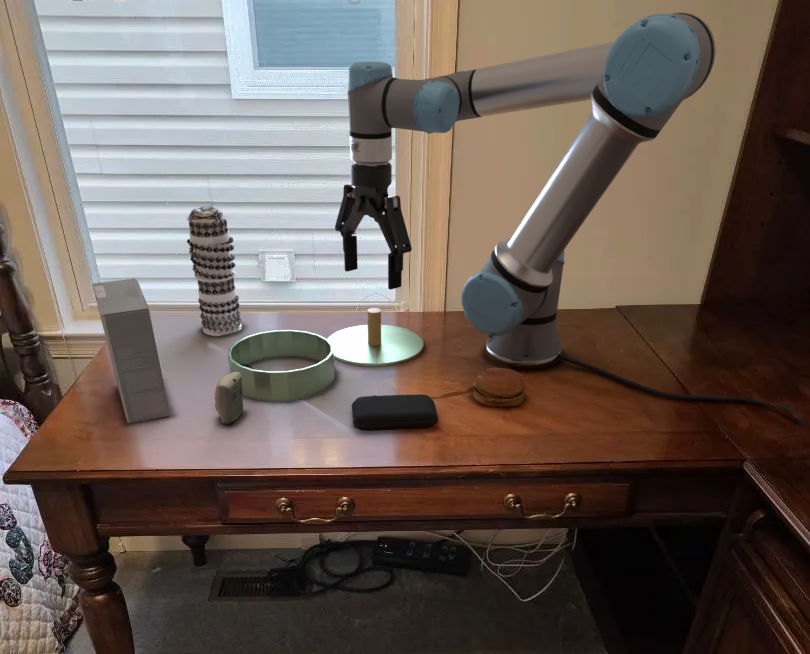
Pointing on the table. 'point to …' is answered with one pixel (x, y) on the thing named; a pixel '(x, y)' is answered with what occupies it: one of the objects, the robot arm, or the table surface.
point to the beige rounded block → (229, 398)
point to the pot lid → (375, 343)
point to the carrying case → (394, 412)
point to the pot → (282, 382)
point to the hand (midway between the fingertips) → (372, 278)
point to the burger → (499, 387)
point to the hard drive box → (132, 349)
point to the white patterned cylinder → (214, 270)
